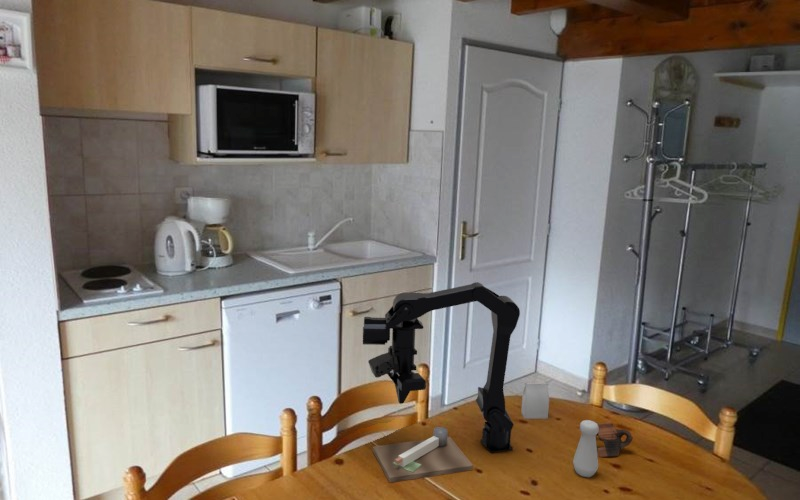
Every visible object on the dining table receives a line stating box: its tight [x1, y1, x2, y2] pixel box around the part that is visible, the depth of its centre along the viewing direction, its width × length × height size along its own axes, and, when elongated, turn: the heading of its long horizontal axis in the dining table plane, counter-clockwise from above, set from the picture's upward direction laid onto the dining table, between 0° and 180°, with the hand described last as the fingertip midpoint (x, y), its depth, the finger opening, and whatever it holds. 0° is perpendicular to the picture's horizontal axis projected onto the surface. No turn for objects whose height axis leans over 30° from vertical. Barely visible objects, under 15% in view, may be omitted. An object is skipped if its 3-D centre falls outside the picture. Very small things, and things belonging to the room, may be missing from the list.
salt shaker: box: [572, 419, 599, 478], centre depth 140 cm, size 6×6×13 cm
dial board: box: [372, 436, 474, 483], centre depth 144 cm, size 21×14×1 cm
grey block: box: [520, 382, 550, 420], centre depth 169 cm, size 4×7×10 cm, turn 95°
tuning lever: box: [395, 426, 448, 467], centre depth 144 cm, size 19×4×4 cm, turn 139°
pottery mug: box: [596, 422, 633, 458], centre depth 153 cm, size 12×10×8 cm
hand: (401, 402), depth 148 cm, fingers closed
